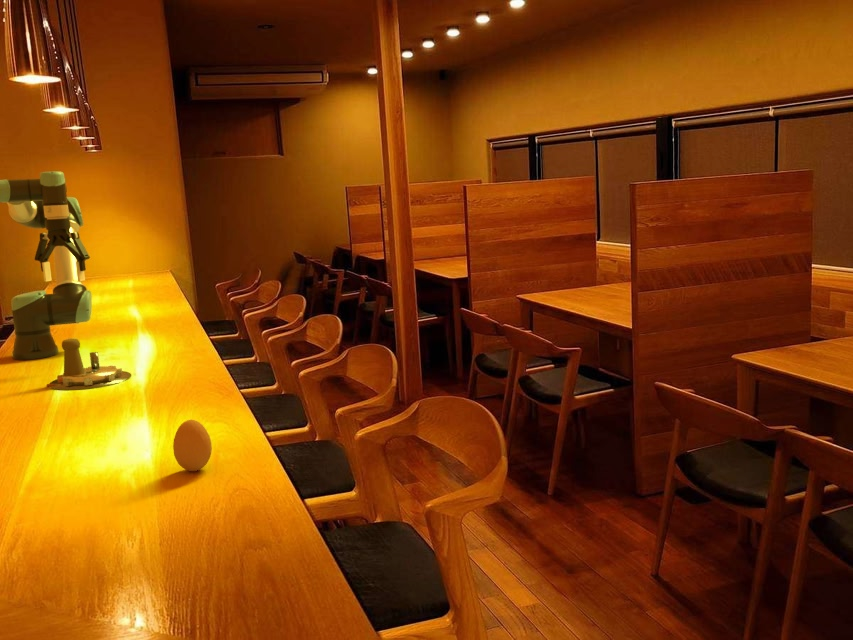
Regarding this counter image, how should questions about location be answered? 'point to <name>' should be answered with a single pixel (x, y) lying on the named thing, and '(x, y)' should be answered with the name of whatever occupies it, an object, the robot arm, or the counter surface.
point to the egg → (192, 445)
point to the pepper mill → (72, 358)
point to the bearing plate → (60, 386)
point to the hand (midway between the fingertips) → (64, 281)
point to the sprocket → (92, 374)
